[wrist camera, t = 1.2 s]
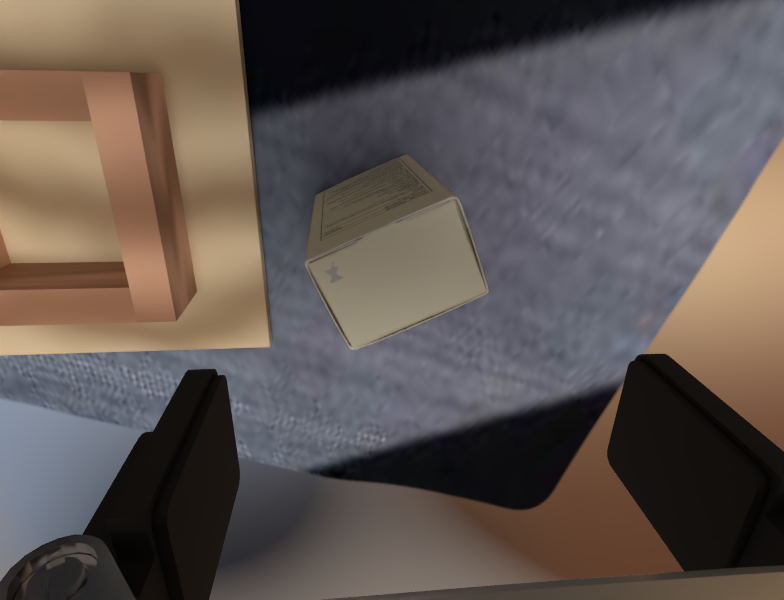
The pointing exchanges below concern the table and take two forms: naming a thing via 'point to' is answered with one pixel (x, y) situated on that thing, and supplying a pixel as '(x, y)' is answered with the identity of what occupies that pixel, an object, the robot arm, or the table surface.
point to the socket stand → (127, 179)
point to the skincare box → (391, 252)
